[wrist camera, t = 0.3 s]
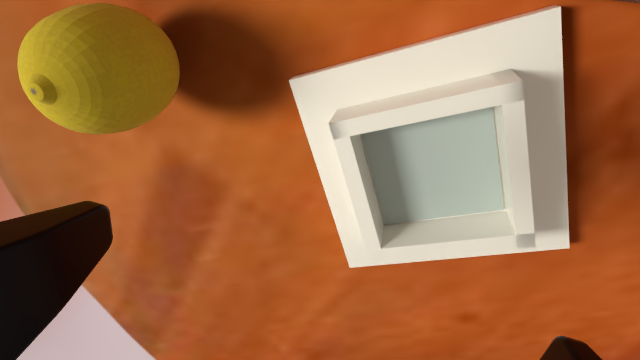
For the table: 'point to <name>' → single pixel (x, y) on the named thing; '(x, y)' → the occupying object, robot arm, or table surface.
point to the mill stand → (445, 144)
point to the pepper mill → (636, 0)
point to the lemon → (98, 68)
